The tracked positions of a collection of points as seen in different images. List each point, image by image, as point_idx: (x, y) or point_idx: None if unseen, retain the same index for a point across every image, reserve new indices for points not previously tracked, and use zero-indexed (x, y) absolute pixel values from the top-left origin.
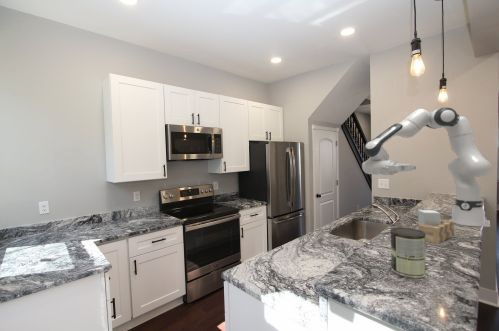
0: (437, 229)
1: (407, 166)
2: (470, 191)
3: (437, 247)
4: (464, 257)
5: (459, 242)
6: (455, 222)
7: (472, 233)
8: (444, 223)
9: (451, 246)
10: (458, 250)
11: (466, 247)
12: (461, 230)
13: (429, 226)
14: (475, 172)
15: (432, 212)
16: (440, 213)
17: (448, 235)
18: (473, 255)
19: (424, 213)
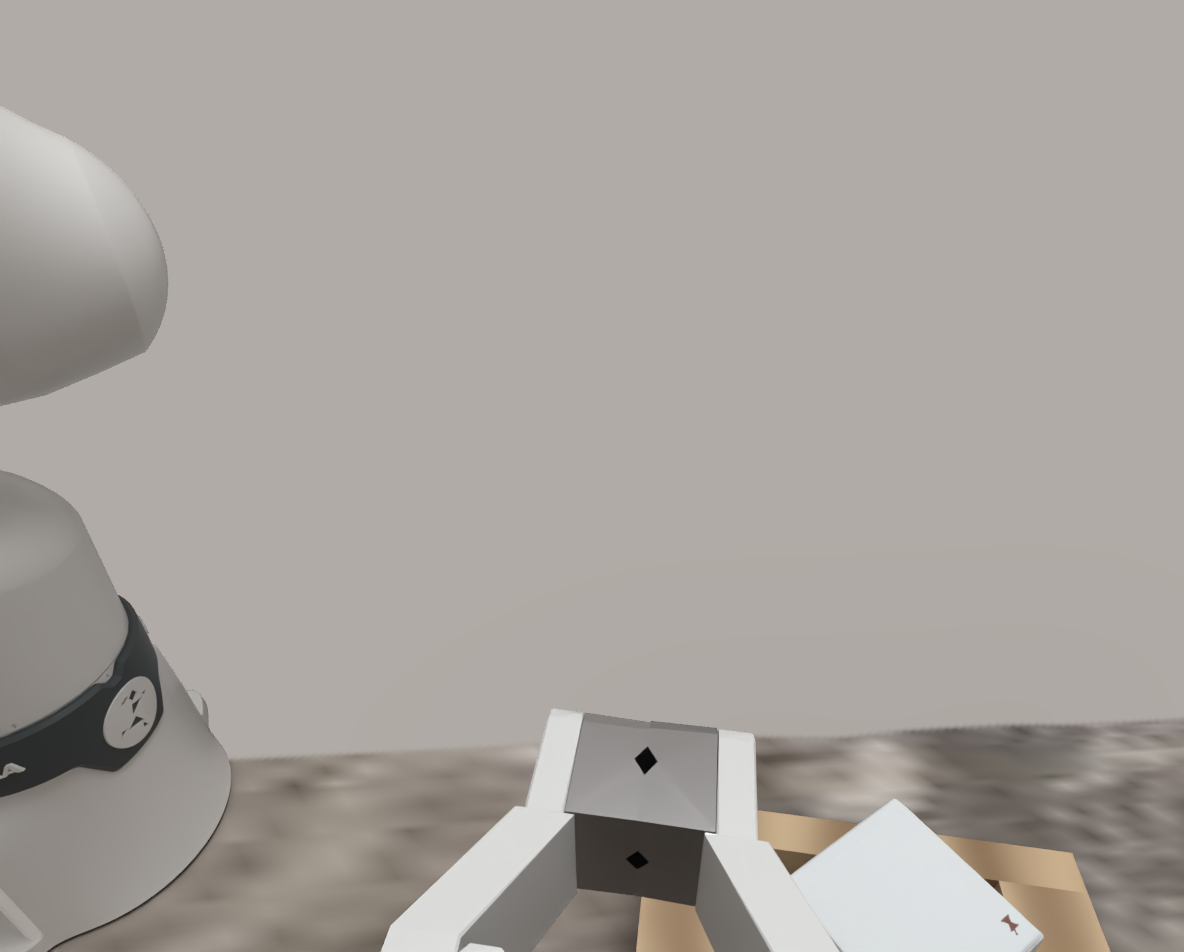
0: (1071, 863)
1: (824, 943)
2: (87, 559)
3: (1129, 913)
4: (1146, 762)
5: (837, 813)
6: (128, 903)
7: (489, 771)
8: (808, 842)
9: (996, 841)
10: (1043, 799)
11: (923, 771)
12: (423, 839)
13: (1074, 929)
14: (151, 326)
15: (952, 861)
16: (895, 801)
17: None
18: (1053, 733)
19: (1040, 939)
